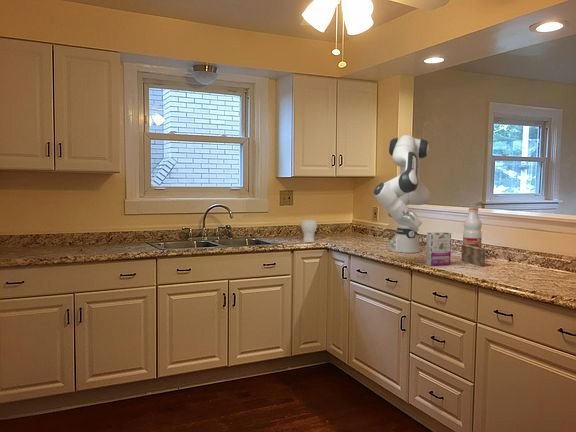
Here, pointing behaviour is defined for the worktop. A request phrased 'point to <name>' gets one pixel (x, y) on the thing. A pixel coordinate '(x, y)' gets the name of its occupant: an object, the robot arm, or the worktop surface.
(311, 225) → the cup
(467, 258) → the block
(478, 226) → the fruit juice
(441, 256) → the candy bar box
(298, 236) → the worktop surface
